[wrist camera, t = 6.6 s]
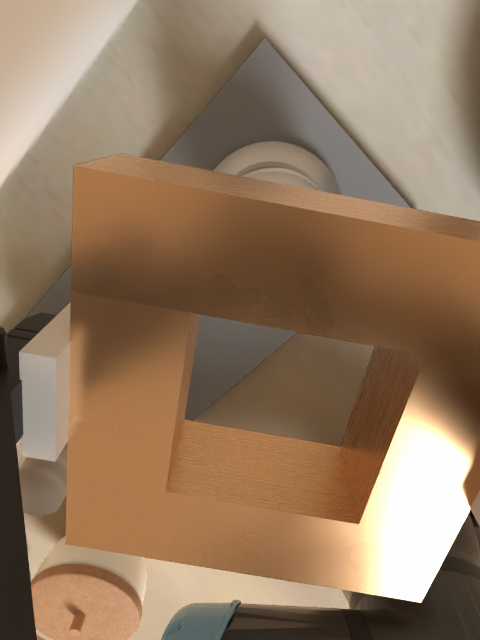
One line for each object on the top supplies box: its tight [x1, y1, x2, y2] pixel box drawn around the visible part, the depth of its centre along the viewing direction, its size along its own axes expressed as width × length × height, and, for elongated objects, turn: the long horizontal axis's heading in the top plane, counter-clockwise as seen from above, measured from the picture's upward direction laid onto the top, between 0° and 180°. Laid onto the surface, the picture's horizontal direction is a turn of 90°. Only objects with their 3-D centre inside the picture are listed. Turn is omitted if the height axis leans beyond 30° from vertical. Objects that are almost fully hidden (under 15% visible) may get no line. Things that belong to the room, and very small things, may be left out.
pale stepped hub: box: [213, 141, 341, 195], centre depth 27 cm, size 10×10×12 cm
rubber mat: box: [26, 39, 411, 421], centre depth 36 cm, size 34×16×1 cm, turn 136°
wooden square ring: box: [65, 153, 480, 602], centre depth 12 cm, size 10×10×3 cm
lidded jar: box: [31, 535, 147, 640], centre depth 44 cm, size 11×11×9 cm
